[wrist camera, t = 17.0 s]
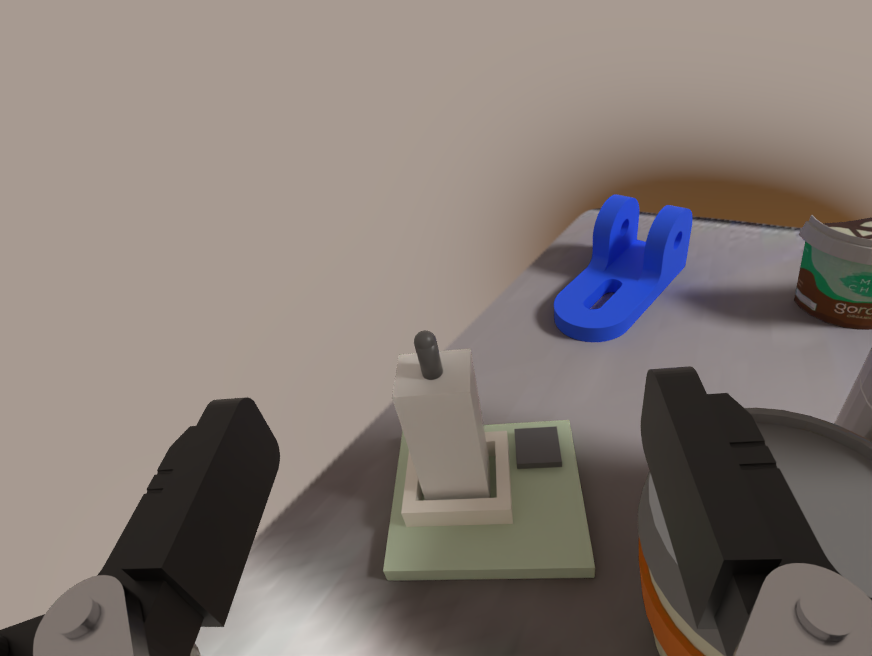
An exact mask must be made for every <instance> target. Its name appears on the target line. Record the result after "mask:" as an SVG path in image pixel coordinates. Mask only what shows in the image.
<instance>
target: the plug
mask: <svg viewBox="0 0 872 656" xmlns="http://www.w3.org/2000/svg"><path fill="white" fill-rule="evenodd" d="M414 345H415V349H416V353H412V354H400V355H399V358H398V364H397V370H396V376H395V382H394V389H393V394H392V399H393V402H394V405H395V409H396V412H397V415H398V418H399V421H400V424H401V427H402V430H403V433H404V436H405V439H406V442H407V445H408V449H409V452H410V455H411V458H412V461H413V464H414V467H415V470H416V473H417V476H418V479H419V482H420V486H421V489H422V492H423V495H424V498H425V500H450V499H476V498H491V491H490V461H489V455H488V449H487V443H486V437H485V431H484V425H483V419H482V413H481V407H480V402H479V396H478V390H477V384H476V378H475V372H474V366H473V360H472V354H471V349H460V350H448V351H439V350H438V345H437V341H436V338H435V336H434V334H433V333H431V332H430V331H421V332H419V333H418V334H417V335H416V336H415V339H414Z"/></svg>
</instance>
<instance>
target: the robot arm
mask: <svg viewBox="0 0 872 656" xmlns="http://www.w3.org/2000/svg"><path fill="white" fill-rule="evenodd" d="M835 424H836V425H839V426H841V427H843V428H845V429H847V430H849V431H852V432H854V433H856V434H858V435H860V436H862V437H865V438H867V439H868V440H870V441H872V348H871V350H870V352H869V354H868V356H867V358H866V360H865V362H864V364H863V367H862V369H861V371H860V373H859V375H858V377H857V379H856V381H855V383H854V385H853V387H852V389H851V391H850V393H849V395H848V397H847V399H846V401H845V403H844V405H843V407H842V409H841V411H840V413H839V415H838V418H837V420H836V422H835ZM641 437H642V444H643V449H644V453H645V456H646V460H647V463H648V466H649V470H650V473H651V476H652V480H653V483H654V486H655V490H656V493H657V496H658V500H659V503H660V506H661V510H662V513H663V516H664V520H665V523H666V526H667V530H668V533H669V537H670V540H671V543H672V547H673V550H674V553H675V557H676V560H677V563H678V567H679V570H680V573H681V577H682V580H683V583H684V587H685V590H686V593H687V597H688V600H689V603H690V607H691V610H692V613H693V617H694V620H695V623H696V627H697V629H718V631H719V634H720V637H721V640H722V643H723V646H724V649H725V653H726V656H872V598H870V597H869V596H867V595H866V594H865V593H864V592H863V591H862V590H861V589H860V588H858V587H857V586H856V585H855V584H853V583H852V582H850V581H849V580H848V579H846V578H844V577H843V576H842V575H841V574H840V573H839V572H838V571H837V570H836V569H835V568H834V566H833V565H832V564H831V563H830V561H829V560H828V558H827V557H826V555H825V553H824V552H823V550H822V548H821V546H820V544H819V542H818V541H817V539H816V537H815V535H814V533H813V531H812V529H811V527H810V525H809V523H808V522H807V520H806V518H805V516H804V514H803V512H802V510H801V508H800V506H799V504H798V503H797V501H796V499H795V497H794V495H793V493H792V491H791V489H790V487H789V485H788V484H787V482H786V480H785V478H784V476H783V474H782V472H781V470H780V468H777V466H776V461H775V459H774V457H773V455H772V453H771V451H770V449H769V447H768V446H766V445H765V440H764V438H763V436H762V434H761V432H760V430H759V428H758V426H757V425H756V423H755V421H754V419H753V417H752V415H751V414H750V413H749V412H748V411H747V410H746V409H744V408H743V407H742V406H741V405H740V404H739V403H738V402H737V401H735V400H734V399H733V398H732V397H731V396H730V395H729V394H728V393H720V394H707V393H706V391H705V389H704V387H703V385H702V382H701V380H700V378H699V376H698V374H697V372H696V370H695V369H694V368H693V367H677V368H663V369H650V370H648V373H647V377H646V385H645V392H644V400H643V408H642V416H641ZM279 461H280V452H279V446H278V443H277V440H276V438H275V437H274V435H273V433H272V432H271V430H270V428H269V426H268V425H267V423H266V421H265V419H264V418H263V416H262V414H261V412H260V411H259V409H258V407H257V406H256V404H255V402H254V401H253V400H252V399H250V398H235V399H221V400H213V401H212V402H210V403H209V404H208V405H207V407H206V409H205V411H204V412H203V414H202V416H201V418H200V420H199V422H198V424H197V426H190V427H189V428H188V429H187V430H186V431H185V432H184V433H183V434H182V435H181V436H180V437H179V438H178V439H177V440H176V441H175V442H174V443H173V445H172V446H171V447H170V448H169V450H168V452H167V453H166V455H165V457H164V459H163V461H162V462H161V464H160V466H159V468H158V470H157V471H158V474H157V475H154V477H153V479H152V480H151V482H150V484H149V486H148V488H147V493H146V494H144V495H143V497H142V499H141V500H140V502H139V504H138V506H137V507H136V509H135V511H134V513H133V515H132V517H131V519H130V520H129V522H128V524H127V526H126V527H125V529H124V531H123V533H122V535H121V536H120V538H119V540H118V542H117V543H116V546H115V548H114V549H113V551H112V553H111V554H110V556H109V558H108V560H107V561H106V563H105V565H104V567H103V569H102V570H101V571H100V573H99V574H98V575H97V576H95V577H91V578H88V579H86V580H83V581H82V582H80V583H78V584H76V585H75V586H73V587H72V588H70V589H69V590H68V591H66V592H65V593H64V594H63V595H62V596H61V597H60V598H59V599H57V601H56V602H55V603H54V604H53V605H52V606H51V607H50V608H49V610H48V611H47V613H46V614H44V615H42V616H39V617H36V618H33V619H30V620H27V621H25V622H22V623H19V624H16V625H13V626H10V627H8V628H5V629H2V630H0V656H200V652H199V650H198V647H197V646H196V644H195V641H196V638H197V635H198V633H199V630H200V627H224V625H225V622H226V619H227V616H228V613H229V610H230V607H231V604H232V601H233V599H234V596H235V593H236V590H237V587H238V584H239V581H240V578H241V575H242V573H243V570H244V567H245V564H246V561H247V558H248V555H249V552H250V549H251V546H252V544H253V541H254V538H255V535H256V532H257V529H258V526H259V523H260V520H261V518H262V514H263V512H264V509H265V506H266V503H267V500H268V497H269V494H270V492H271V488H272V486H273V483H274V480H275V477H276V474H277V471H278V468H279Z"/></svg>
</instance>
